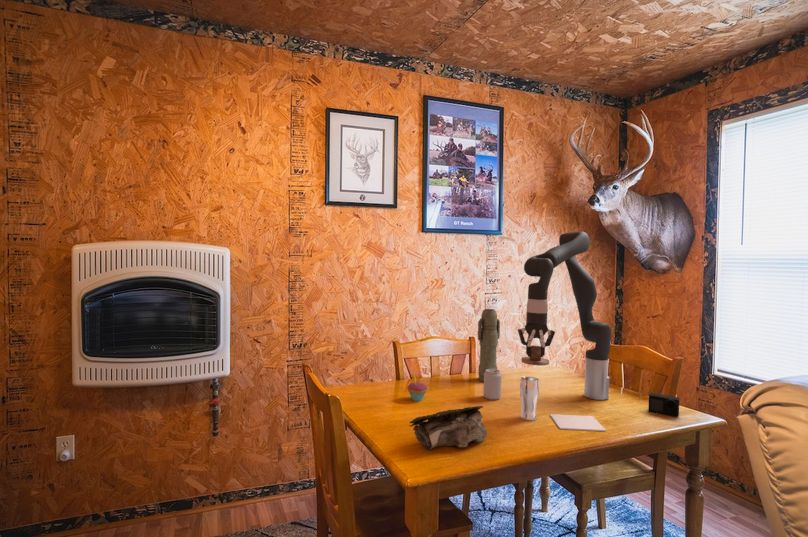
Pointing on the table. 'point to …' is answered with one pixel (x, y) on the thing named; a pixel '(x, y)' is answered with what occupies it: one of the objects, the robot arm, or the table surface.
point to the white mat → (577, 422)
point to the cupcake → (417, 390)
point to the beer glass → (529, 397)
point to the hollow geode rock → (450, 428)
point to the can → (492, 384)
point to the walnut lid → (535, 357)
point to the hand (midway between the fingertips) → (535, 356)
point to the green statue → (488, 341)
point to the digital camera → (664, 405)
